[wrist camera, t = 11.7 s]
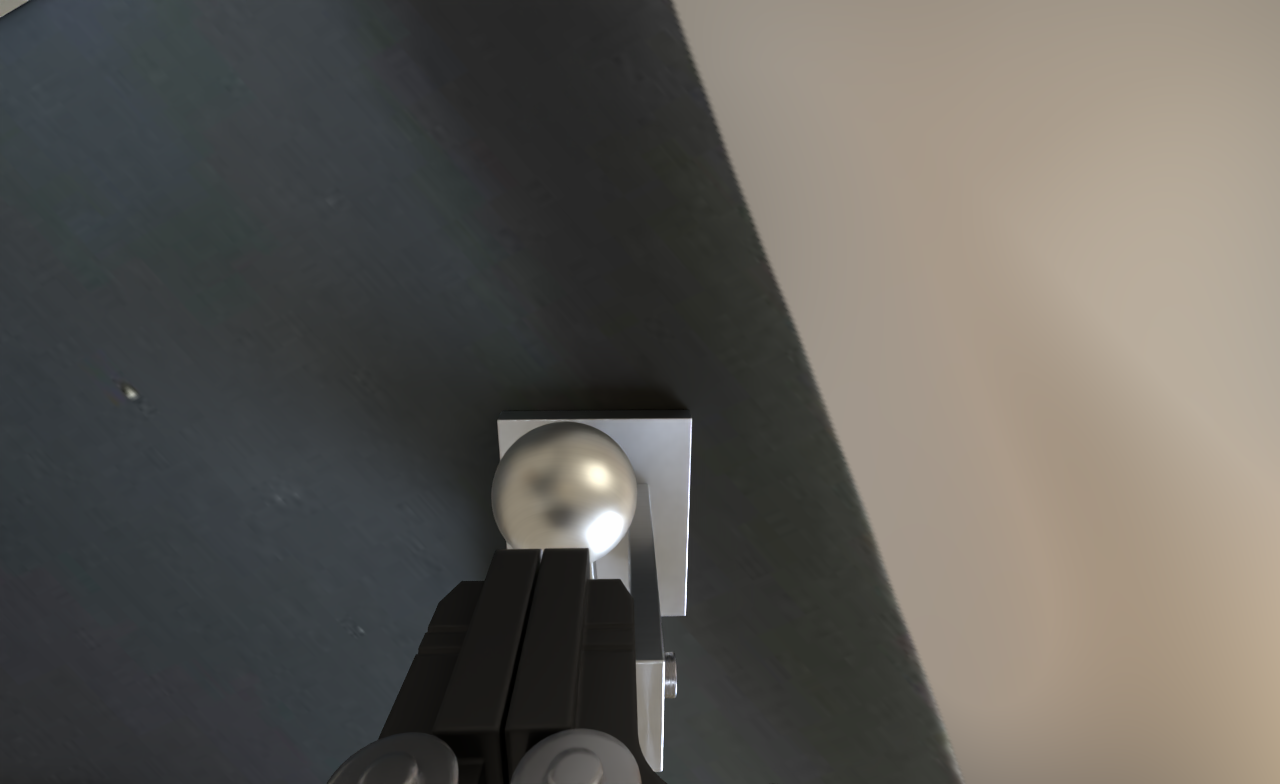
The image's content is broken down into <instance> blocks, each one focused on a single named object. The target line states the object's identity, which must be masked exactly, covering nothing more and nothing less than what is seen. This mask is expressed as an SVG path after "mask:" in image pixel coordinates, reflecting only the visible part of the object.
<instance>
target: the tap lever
mask: <svg viewBox="0 0 1280 784" xmlns="http://www.w3.org/2000/svg"><path fill="white" fill-rule="evenodd" d="M491 502H492V510H493V514H494V518H495V521H496V524H497V526H498V528H499V530H500V532H501V534H502V535H503V537H504V538H505V540H506V541H507V542H508V544H509V545H510V546H511V547H512V548H513V549H542V551H544V549H545V548H589V556H590V579H597V565H596V560H598V559H600V558H602V557H603V556H605V555H606V554H607V553H609V552H610V551H611V550H612V549H613V548H615V547H616V545H617V544H618V543H619V542H620V541H621V540H622V538H623V537H624V535H625V534H626V532H627V530H628V529H629V527H630V525H631V522H632V520H633V517H634V514H635V510H636V505H637V483H636V477H635V474H634V470H633V467H632V465H631V463H630V461H629V459H628V457H627V455H626V454H625V452H624V451H623V450H622V448H621V447H620V446H619V445H618V444H617V443H616V442H615V441H614V440H613V439H612V438H611V437H610V436H608V435H607V434H606V433H604V432H602V431H601V430H599V429H597V428H594V427H592V426H590V425H586V424H583V423H578V422H567V421H564V422H554V423H549V424H545V425H542V426H540V427H537V428H535V429H533V430H531V431H529V432H527V433H526V434H524V435H523V436H521V437H520V438H519V439H518V440H517V441H515V442H514V443H513V444H512V445H511V446H510V448H509V449H508V450H507V451H506V453H505V454H504V456H503V457H502V459H501V461H500V463H499V465H498V467H497V469H496V472H495V475H494V479H493V483H492V492H491Z"/></svg>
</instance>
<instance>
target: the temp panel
mask: <svg viewBox="0 0 1280 784" xmlns="http://www.w3.org/2000/svg"><path fill="white" fill-rule="evenodd" d="M28 1H29V0H0V18H1V17H2V16H4V15H6V14H7V13H9V12H11V11H12V10H14V9H16V8H17V7H19V6H21V5H23V4H24V3H26V2H28Z"/></svg>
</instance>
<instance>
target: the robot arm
mask: <svg viewBox="0 0 1280 784" xmlns="http://www.w3.org/2000/svg"><path fill="white" fill-rule="evenodd" d="M327 784H667V783H666V782H664V781H663V780H662V779H661V778H660V777H659V776H658V775H657V774H656V773H655V772H654V771H653V770H652V768H651V767H650V766H649V764H648V763H647V761H646V759H645V757H644V755H643V753H642V750H641V747H640V744H639V737H638V716H637V684H636V653H635V621H634V599H633V597H632V596H631V594H630V593H629V591H628V590H627V588H626V587H625V585H624V584H623V582H622V581H621V579H590V556H589V548H545V549H544V551H542V549H497V550H496V551H495V553H494V556H493V559H492V561H491V564H490V567H489V570H488V573H487V576H486V579H485V581H461V582H460V583H459V584H458V585H457V586H456V587H455V588H454V589H453V590H452V591H451V592H450V593H449V594H448V595H447V596H446V597H444V598H443V599H442V600H441V601H440V602H439V604H438V606H437V608H436V611H435V613H434V615H433V617H432V620H431V622H430V624H429V626H428V632H427V633H425V635H424V638H423V640H422V642H421V644H420V647H419V651H418V654H416V656H415V658H414V660H413V662H412V664H411V667H410V669H409V671H408V673H407V676H406V678H405V680H404V682H403V685H402V687H401V689H400V691H399V694H398V696H397V698H396V700H395V703H394V705H393V707H392V709H391V712H390V714H389V716H388V718H387V721H386V723H385V725H384V727H383V730H382V732H381V734H380V736H379V739H378V740H377V741H375V742H372V743H371V744H369V745H367V746H365V747H363V748H362V749H360V750H359V751H357V752H356V753H355V754H353V755H352V756H350V757H349V758H348V759H347V760H346V761H345V762H344V763H343V764H342V765H341V766H340V767H339V768H338V769H337V770H336V771H335V772H334V774H333V775H332V776H331V778H330V779H329V781H328V782H327Z"/></svg>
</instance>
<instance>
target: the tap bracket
mask: <svg viewBox="0 0 1280 784" xmlns="http://www.w3.org/2000/svg"><path fill="white" fill-rule="evenodd" d="M564 421H567V422H578V423H583V424H586V425H590V426H592V427H594V428H597V429H599V430H601V431H602V432H604V433H606V434H607V435H608V436H610V437H611V438H612V439H613V440H614V441H615V442H616V443H617V444H618V445H619V446H620V447H621V448H622V450H623V451H624V452H625V454H626V455H627V457H628V459H629V461H630V463H631V465H632V467H633V470H634V474H635V477H636V483H637V505H636V510H635V514H634V517H633V520H632V522H631V525H630V527H629V529H628V530H627V532H626V534H625V535H624V537H623V538H622V540H621V541H620V542H619V543H618V544H617V545H616V547H615V548H613V549H612V550H611V551H610V552H609V553H607V554H606V555H605V556H603V557H602V558H600V559H598V560H596V565H597V579H621V581H622V582H623V584H624V585H625V587H626V588H627V590H628V591H629V593H630V594H631V596H632V597H633V599H634V621H635V653H636V684H637V716H638V737H639V744H640V747H641V750H642V753H643V755H644V757H645V759H646V761H647V763H648V764H649V766H650V767H651V768H652V770H653V771H654V772H661V771H662V770H663V739H664V698H676V695H677V668H676V657H675V653H674V652H664V645H663V634H662V623H661V616H685V615H686V595H687V564H688V533H689V502H690V471H691V441H692V417H691V414H690V411H689V410H599V411H502V412H501V414H500V416H499V418H498V419H497V427H498V440H499V453H500V461H501V459H502V457H503V456H504V454H505V453H506V451H507V450H508V449H509V448H510V446H511V445H512V444H513V443H514V442H515V441H517V440H518V439H519V438H520V437H521V436H523V435H524V434H526V433H527V432H529V431H531V430H533V429H535V428H537V427H540V426H542V425H545V424H549V423H554V422H564ZM506 545H507V549H513V548H512V547H511V546H510V545H509V544H508V542H507V541H506Z"/></svg>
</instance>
